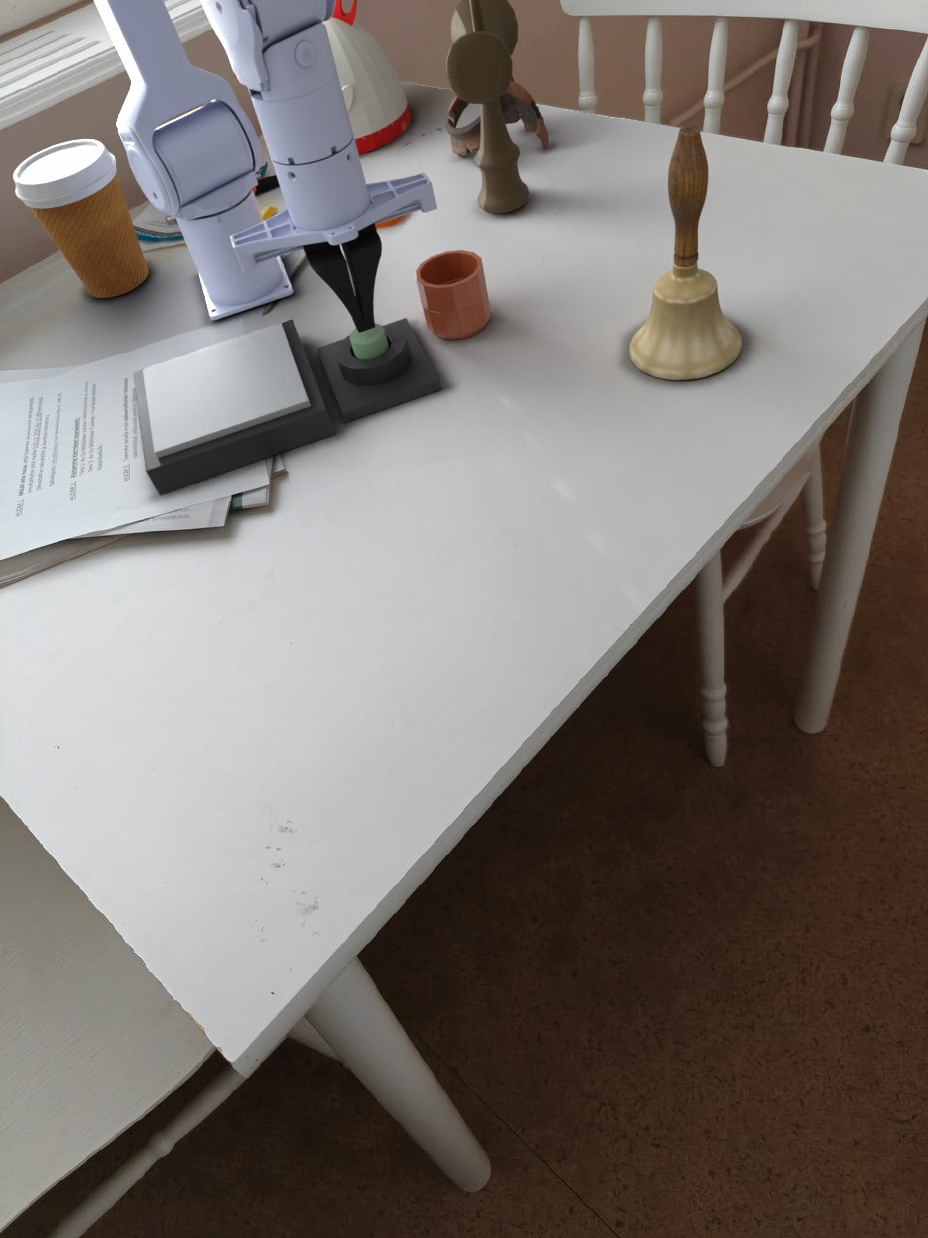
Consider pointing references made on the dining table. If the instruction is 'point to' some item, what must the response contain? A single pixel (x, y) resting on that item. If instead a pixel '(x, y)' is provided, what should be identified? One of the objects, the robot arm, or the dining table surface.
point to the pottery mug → (513, 107)
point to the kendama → (488, 94)
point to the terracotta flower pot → (454, 294)
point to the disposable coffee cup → (84, 214)
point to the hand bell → (686, 285)
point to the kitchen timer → (366, 82)
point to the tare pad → (378, 373)
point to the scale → (228, 406)
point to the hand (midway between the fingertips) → (364, 324)
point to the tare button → (369, 342)
